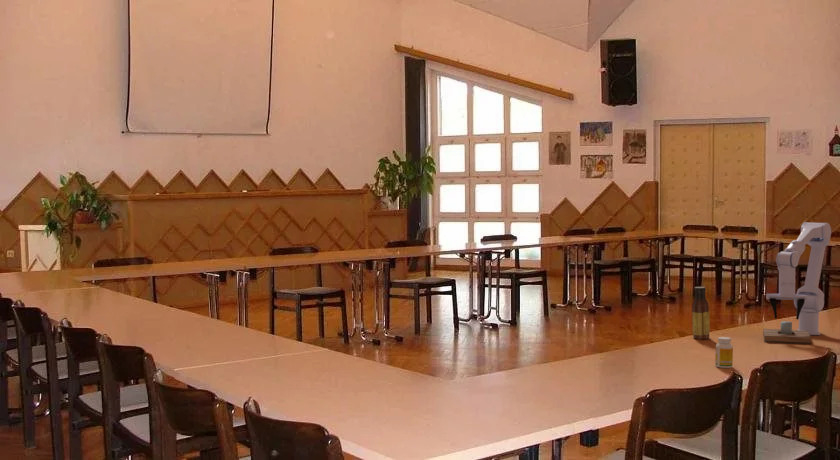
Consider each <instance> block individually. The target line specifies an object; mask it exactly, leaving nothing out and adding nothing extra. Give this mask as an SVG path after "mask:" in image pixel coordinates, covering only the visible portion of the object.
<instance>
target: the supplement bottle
mask: <svg viewBox="0 0 840 460" xmlns="http://www.w3.org/2000/svg"><path fill="white" fill-rule="evenodd" d="M717 342H718V343H716V345H715V365H714V366H715V367H717V368H719V369H731V368H733V361H734V360H733V359H734V355H733V353H734V352H733V351H734V346H733V344H732V338H731V337H727V336H720V337H719V336H718V337H717Z"/></svg>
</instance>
